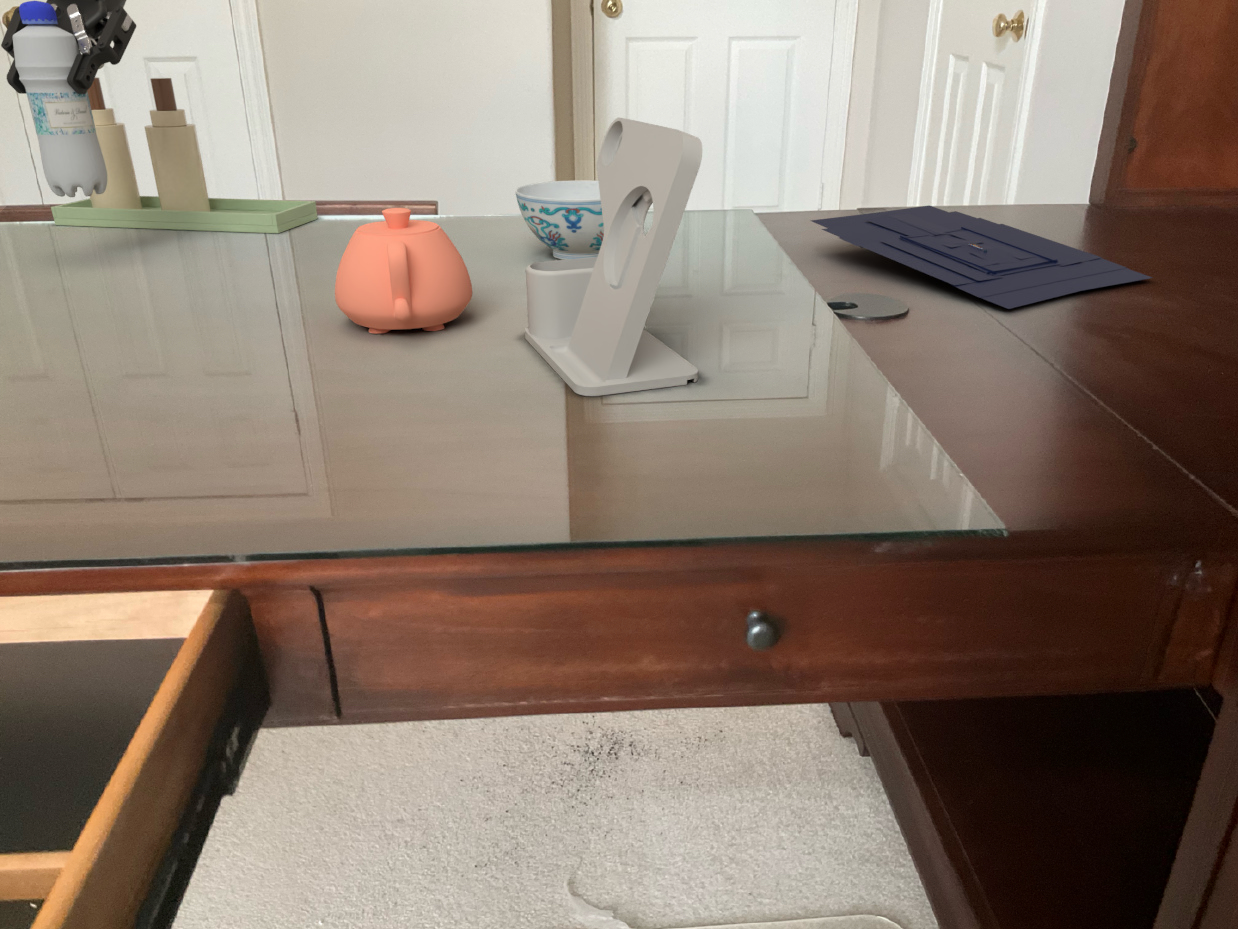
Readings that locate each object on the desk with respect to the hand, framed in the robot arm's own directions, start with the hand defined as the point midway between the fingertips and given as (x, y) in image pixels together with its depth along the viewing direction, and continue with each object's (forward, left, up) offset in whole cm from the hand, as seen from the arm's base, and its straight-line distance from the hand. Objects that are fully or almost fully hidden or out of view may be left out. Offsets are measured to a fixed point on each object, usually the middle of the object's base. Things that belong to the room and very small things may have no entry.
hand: (45, 88), depth 101 cm
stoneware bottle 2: (-17, +20, -18) cm, 32 cm away
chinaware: (+41, +40, -19) cm, 61 cm away
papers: (+79, +63, -19) cm, 103 cm away
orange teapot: (+49, +8, -19) cm, 54 cm away
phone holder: (+69, +13, -19) cm, 73 cm away
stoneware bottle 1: (-26, +15, -18) cm, 35 cm away
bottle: (-1, +1, -12) cm, 12 cm away
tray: (-17, +20, -19) cm, 32 cm away
